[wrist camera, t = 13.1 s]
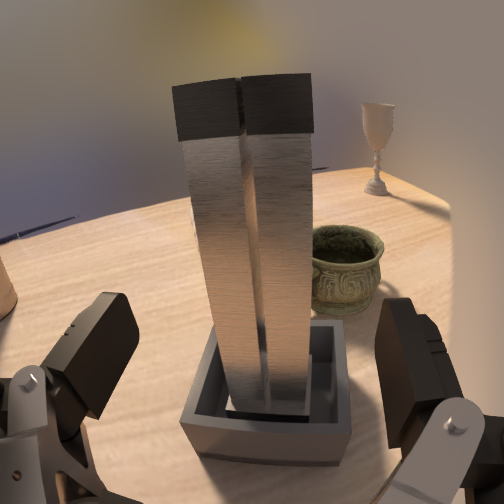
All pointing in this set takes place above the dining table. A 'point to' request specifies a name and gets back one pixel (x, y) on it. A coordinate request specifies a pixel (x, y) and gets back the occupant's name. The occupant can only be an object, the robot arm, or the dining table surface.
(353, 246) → the vessel
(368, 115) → the chalice
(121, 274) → the dining table surface
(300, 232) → the split metal pillar
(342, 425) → the grey open storage bin
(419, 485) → the robot arm
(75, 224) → the dining table surface
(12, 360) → the dining table surface
